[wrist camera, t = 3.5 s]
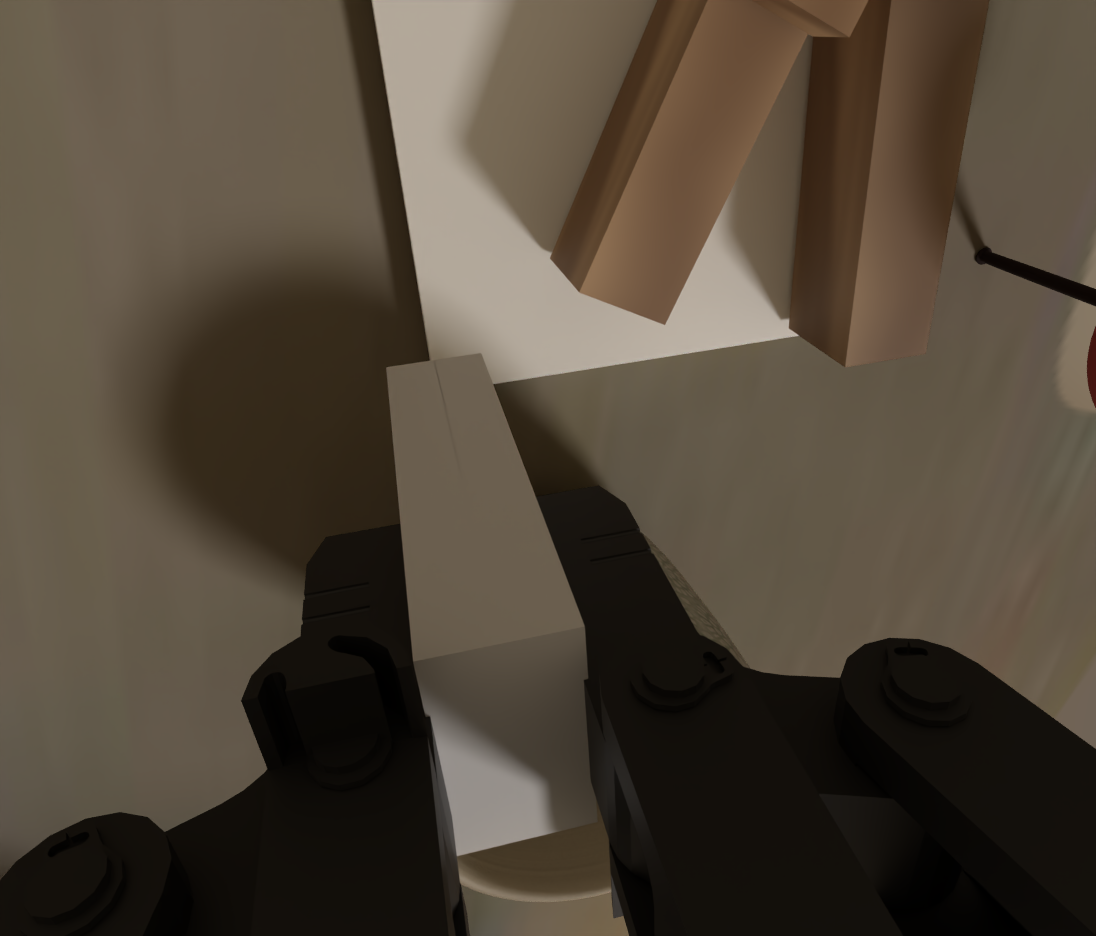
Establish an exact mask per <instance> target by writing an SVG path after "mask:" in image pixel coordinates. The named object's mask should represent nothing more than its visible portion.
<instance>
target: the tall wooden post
mask: <svg viewBox="0 0 1096 936" xmlns="http://www.w3.org/2000/svg"><path fill="white" fill-rule="evenodd" d="M988 5H989V0H868V2H867V4H866V6H865V8H864V10H863V12H862V14H861V16H860V18H859V20H858V22H857V24H856V26H855V28H854V30H853V32H852V33H851V35H850V37H814V36H813V44H812V55H811V67H810V79H809V91H808V103H807V115H806V127H805V139H804V151H803V162H802V174H801V186H800V198H799V210H798V222H797V234H796V246H795V258H794V270H793V281H792V293H791V305H790V317H789V329H790V330H792V331H793V332H795V333H796V334H798V335H799V336H800V337H802V338H803V339H805V340H806V341H808V342H809V343H811V344H812V345H813V346H815V347H816V348H818V349H819V350H821V351H822V352H824V353H825V354H827V355H828V356H829V357H831V358H832V359H834V360H835V361H837V362H838V363H840V364H841V365H843V366H844V367H850V366H856V365H862V364H868V363H874V362H880V361H886V360H892V359H898V358H904V357H910V356H916V355H922V354H926V349H927V344H928V338H929V333H930V327H931V322H932V316H933V311H934V305H935V299H936V294H937V288H938V283H939V277H940V272H941V266H942V261H943V255H944V250H945V244H946V238H947V233H948V227H949V222H950V216H951V211H952V205H953V200H954V194H955V188H956V183H957V177H958V172H959V166H960V161H961V155H962V150H963V144H964V139H965V133H966V127H967V122H968V116H969V111H970V105H971V100H972V94H973V89H974V83H975V77H976V72H977V66H978V61H979V55H980V50H981V44H982V39H983V33H984V28H985V22H986V16H987V11H988Z"/></svg>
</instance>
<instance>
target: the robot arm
mask: <svg viewBox="0 0 1096 936" xmlns="http://www.w3.org/2000/svg"><path fill="white" fill-rule="evenodd" d="M386 371H387V382H388V393H389V404H390V415H391V426H392V436H393V447H394V458H395V469H396V480H397V491H398V502H399V513H400V524H397V525H391V526H385V527H380V528H374V529H369V530H363V531H358V532H352V533H346V534H341V535H335V536H330V537H326V538H325V539H324V541H323V542H322V543H321V545H320V546H319V548H318V549H317V551H316V552H315V554H314V555H313V557H312V558H311V559H310V561H309V562H308V564H307V568H306V579H305V591H304V595H305V600H304V602H303V614H302V620H303V625H301V637H299V638H297V639H295V640H294V641H292V642H291V643H289V644H287V645H286V646H284V647H282V648H281V649H279V650H278V651H276V652H274V653H273V654H271V655H270V657H269V658H268V659H267V660H266V661H265V662H264V663H263V664H262V665H261V666H260V667H259V668H258V669H257V670H256V672H255V673H254V674H253V675H252V676H251V678H250V680H249V683H248V685H247V688H246V690H245V692H244V695H243V697H242V700H241V702H242V704H243V707H244V709H245V712H246V714H247V717H248V720H249V722H250V725H251V727H252V730H253V733H254V735H255V738H256V740H257V743H258V745H259V748H260V751H261V753H262V756H263V758H264V761H265V763H266V766H267V770H266V771H265V773H264V774H263V775H261V776H260V777H259V778H258V779H257V780H255V781H254V782H253V783H252V784H251V785H250V786H248V787H247V788H246V789H245V790H244V791H242V792H240V793H239V794H237V795H235V796H234V797H232V798H230V799H229V800H227V801H225V802H224V803H222V804H220V805H218V806H216V807H214V808H212V809H210V810H208V811H206V812H204V813H202V814H200V815H198V816H196V817H194V818H192V819H190V820H188V821H186V822H184V823H182V824H180V825H178V826H176V827H174V828H172V829H170V830H168V831H166V832H164V831H163V830H162V829H160V828H159V827H158V826H157V825H156V824H155V823H154V822H152V821H151V820H150V819H149V818H148V817H144V816H138V815H133V814H127V813H121V812H118V813H113V814H108V815H103V816H97V817H92V818H87V819H84V820H82V821H80V822H78V823H76V824H74V825H72V826H69V827H67V828H65V829H63V830H61V831H59V832H57V833H55V834H53V835H50V836H49V837H48V838H46V839H45V840H44V841H42V842H41V843H40V844H39V845H37V846H36V847H35V848H33V849H32V850H31V851H29V852H28V853H27V854H26V855H24V856H23V857H22V858H20V859H19V860H18V861H16V862H15V864H14V865H13V866H12V867H11V868H10V870H9V871H8V872H7V873H6V874H5V875H4V877H3V878H2V879H1V880H0V936H470V933H469V925H468V918H467V911H466V906H465V902H464V897H463V893H462V888H461V884H460V878H459V870H458V861H457V856H460V855H464V854H468V853H472V852H476V851H480V850H484V849H488V848H493V847H497V846H501V845H505V844H509V843H513V842H517V841H521V840H526V839H530V838H534V837H538V836H542V835H546V834H550V833H554V832H558V831H563V830H567V829H571V828H575V827H579V826H583V825H587V824H591V823H596V822H598V820H597V805H596V800H597V803H598V806H599V809H600V813H601V816H602V819H603V822H604V825H605V829H606V832H607V835H608V839H609V857H610V875H611V893H612V906H613V918H617V917H620V916H624V919H625V922H626V926H627V929H628V933H629V936H1096V749H1095V748H1093V747H1092V746H1091V745H1089V744H1088V743H1087V742H1085V741H1084V740H1083V739H1081V738H1079V737H1078V736H1077V735H1076V734H1074V733H1073V732H1071V731H1070V730H1069V729H1067V728H1066V727H1065V726H1063V725H1062V724H1061V723H1059V722H1058V721H1056V720H1055V719H1054V718H1052V717H1051V716H1050V715H1048V714H1047V713H1046V712H1044V711H1043V710H1041V709H1040V708H1039V707H1037V706H1036V705H1035V704H1033V703H1032V702H1030V701H1029V700H1028V699H1026V698H1025V697H1024V696H1022V695H1021V694H1019V693H1018V692H1017V691H1015V690H1014V689H1013V688H1011V687H1010V686H1008V685H1007V684H1006V683H1004V682H1003V681H1002V680H1000V679H999V678H997V677H996V676H995V675H993V674H992V673H991V672H989V671H988V670H986V669H985V668H984V667H982V666H981V665H980V664H978V663H976V662H975V661H973V660H971V659H969V658H967V657H966V656H964V655H962V654H960V653H958V652H957V651H955V650H953V649H951V648H949V647H945V646H942V645H938V644H934V643H931V642H927V641H924V640H920V639H904V638H887V639H883V640H879V641H876V642H872V643H868V644H864V645H863V646H862V647H860V648H859V649H858V650H857V651H855V652H854V653H853V654H852V655H850V656H849V657H848V658H847V660H846V663H845V666H844V669H843V671H842V674H841V677H840V678H831V677H810V676H789V675H778V674H771V673H763V672H759V671H756V670H753V669H750V668H746V667H743V666H742V665H741V664H740V663H739V661H738V660H737V659H736V658H735V657H734V656H733V655H732V654H731V653H730V652H729V650H728V649H727V648H725V647H723V646H722V645H720V644H718V643H716V642H714V641H712V640H710V639H708V638H707V637H705V636H702V635H700V634H699V633H698V632H697V630H696V628H695V627H694V625H693V623H692V621H691V619H690V618H689V616H688V614H687V612H686V611H685V609H684V607H683V605H682V603H681V602H680V600H679V598H678V596H677V594H676V593H675V591H674V589H673V587H672V585H671V584H670V582H669V580H668V578H667V577H666V575H665V573H664V571H663V569H662V568H661V566H660V564H659V562H658V560H657V559H656V557H655V555H654V553H653V554H652V553H651V548H650V546H649V544H648V543H647V541H646V539H645V537H644V535H643V534H642V533H640V530H639V526H638V525H637V523H636V521H635V519H634V517H633V516H632V514H631V512H630V510H629V509H628V507H627V505H626V503H624V502H623V501H621V500H620V499H618V498H617V497H615V496H614V495H612V494H611V493H609V492H608V491H606V490H605V489H603V488H602V487H600V486H593V487H588V488H582V489H577V490H571V491H565V492H560V493H554V494H549V495H543V496H537V497H536V496H535V494H534V491H533V488H532V486H531V483H530V480H529V478H528V475H527V473H526V470H525V467H524V465H523V462H522V459H521V457H520V454H519V451H518V449H517V446H516V443H515V441H514V438H513V436H512V433H511V430H510V428H509V425H508V422H507V420H506V417H505V414H504V412H503V409H502V407H501V404H500V401H499V399H498V396H497V393H496V391H495V388H494V385H493V383H492V380H491V377H490V375H489V372H488V370H487V367H486V364H485V362H484V359H483V356H482V354H481V353H478V354H471V355H465V356H458V357H451V358H445V359H438V360H431V361H425V362H418V363H411V364H405V365H398V366H391V367H386Z"/></svg>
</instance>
